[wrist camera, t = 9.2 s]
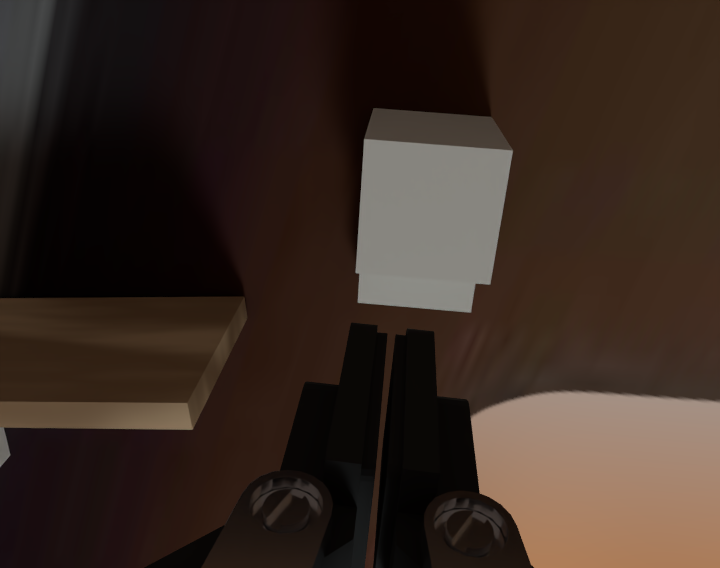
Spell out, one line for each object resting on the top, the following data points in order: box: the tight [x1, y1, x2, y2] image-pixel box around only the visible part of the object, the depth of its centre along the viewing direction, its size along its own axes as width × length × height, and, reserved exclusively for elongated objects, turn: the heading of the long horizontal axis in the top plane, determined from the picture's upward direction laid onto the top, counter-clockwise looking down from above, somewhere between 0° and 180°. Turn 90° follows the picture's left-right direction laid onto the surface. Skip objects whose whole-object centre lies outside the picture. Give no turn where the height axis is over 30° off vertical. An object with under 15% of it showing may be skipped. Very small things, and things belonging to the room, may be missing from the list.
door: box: [0, 297, 247, 430], centre depth 28 cm, size 3×16×9 cm, turn 93°
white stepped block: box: [356, 108, 513, 312], centre depth 25 cm, size 8×5×6 cm, turn 177°
